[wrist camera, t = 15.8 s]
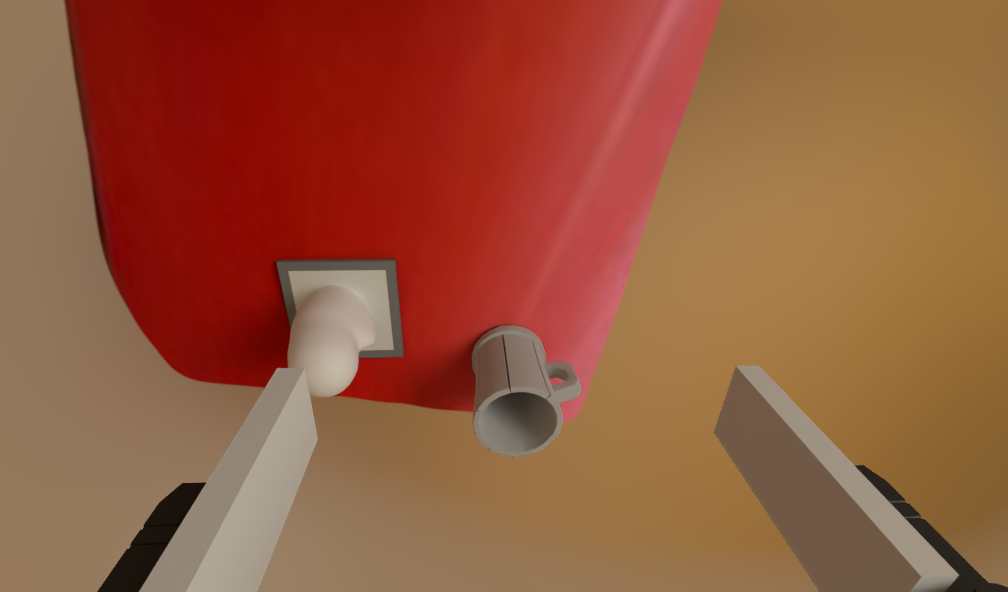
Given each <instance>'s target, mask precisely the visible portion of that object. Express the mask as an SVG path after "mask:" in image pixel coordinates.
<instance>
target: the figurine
mask: <svg viewBox="0 0 1008 592" xmlns="http://www.w3.org/2000/svg"><path fill="white" fill-rule="evenodd" d="M375 340H376V332H375V326H374V323H373V320H372V317H371V315H370V313H369V311H368V310H367V308H366V306H365V304H364V302H363V300H362V299H361V297H360V296H359V295H358V294H357V293H356V292H354V291H353V290H351V289H349V288H347V287H344V286H340V285H329V286H325V287H323V288H321V289H319V290H317V291H316V292H314V293H313V294H312V295H310V296H309V297H308V298H307V299H306V300H305V302H304V303H303V304H302V305H301V307H300V308H299V310H298V311H297V313H296V315H295V318H294V320H293V323H292V327H291V332H290V342H289V347H288V368H305V373H306V378H307V384H308V389H309V394H310V395H311V396H315V397H330V396H334V395H336V394H338V393H340V392H342V391H343V390H344V389H346V388H347V387H348V386H349V384H350V383H351V382H352V380H353V378H354V376H355V374H356V372H357V369H358V359H359V352H360V351H361V350H363V349H365V348H367V347H369V346H371V345H372V344H374V342H375Z"/></svg>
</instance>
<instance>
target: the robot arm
mask: <svg viewBox="0 0 1008 592" xmlns="http://www.w3.org/2000/svg"><path fill="white" fill-rule="evenodd" d="M714 433H715V435H716V436H717V438H718V439H719V441H720V442H721V444H722V445H723V447H724V448H725V450H726V451H727V453H728V454H729V456H730V458H731V459H732V461H733V462H734V464H735V465H736V467H737V468H738V470H739V471H740V472H741V474H742V476H743V477H744V478H745V480H746V482H747V483H748V485H749V486H750V488H751V489H752V491H753V492H754V493H755V495H756V496H757V498H758V500H759V501H760V503H761V504H762V506H763V507H764V509H765V510H766V512H767V513H768V515H769V516H770V518H771V519H772V521H773V522H774V524H775V525H776V527H777V528H778V530H779V531H780V533H781V534H782V536H783V537H784V539H785V540H786V542H787V543H788V545H789V546H790V548H791V549H792V551H793V553H794V554H795V555H796V557H797V558H798V560H799V562H800V563H801V565H802V566H803V567H804V569H805V571H806V572H807V573H808V575H809V577H810V578H811V580H812V581H813V583H814V584H815V586H816V587H817V589H818V590H819V592H1008V587H1005V586H1002V585H999V584H993V583H988V582H987V581H986V580H985V579H984V578H983V577H982V576H981V575H980V574H979V573H978V572H977V571H976V570H975V569H974V568H973V567H972V566H971V565H970V564H969V563H968V562H967V561H966V560H965V559H964V558H963V557H962V556H961V555H960V554H959V553H958V552H957V551H956V550H955V549H954V548H953V547H952V546H951V545H950V544H949V543H948V542H947V541H946V540H945V539H944V538H943V537H942V536H941V535H940V534H939V533H938V532H937V531H936V530H935V529H934V528H933V527H932V526H931V525H930V524H929V523H928V522H926V520H924V519H921V516H920V514H919V513H918V512H917V511H916V510H915V509H914V508H913V507H912V506H911V505H910V504H907V503H906V502H905V499H904V498H903V497H902V496H901V495H900V494H899V493H898V492H897V491H896V490H895V489H894V488H893V487H892V486H891V485H890V484H889V483H888V482H887V481H886V480H884V479H883V478H881V477H880V476H878V475H877V474H875V473H874V472H872V471H871V470H869V469H868V468H866V467H865V466H864V465H859V466H854V465H853V464H852V463H851V462H850V461H849V459H847V457H846V456H845V455H844V454H843V453H842V452H841V451H840V450H839V449H838V448H837V447H836V446H835V445H834V444H833V443H832V442H831V441H830V440H829V439H828V437H827V436H825V434H824V433H823V432H822V431H821V430H820V429H819V428H818V427H817V426H816V425H815V424H814V423H813V422H812V421H811V420H810V419H809V418H808V417H807V415H805V413H804V412H803V411H802V410H801V409H800V408H799V407H798V406H797V405H796V404H795V403H794V402H793V401H792V400H791V399H790V398H789V397H788V396H787V395H786V394H785V392H784V391H783V390H781V388H779V386H778V385H777V384H776V383H775V382H774V381H773V380H772V379H771V378H770V377H769V376H768V375H767V374H766V373H765V372H764V371H763V369H761V367H760V366H736V367H735V370H734V373H733V376H732V380H731V382H730V385H729V388H728V391H727V394H726V397H725V400H724V403H723V406H722V410H721V412H720V415H719V418H718V421H717V424H716V427H715V430H714ZM317 440H318V438H317V432H316V427H315V422H314V416H313V411H312V405H311V400H310V394H309V389H308V384H307V378H306V373H305V368H277V369H276V371H275V373H274V374H273V376H272V377H271V379H270V381H269V382H268V384H267V386H266V387H265V389H264V391H263V392H262V394H261V395H260V397H259V399H258V400H257V402H256V403H255V405H254V407H253V408H252V410H251V412H250V413H249V415H248V416H247V418H246V420H245V421H244V423H243V424H242V426H241V428H240V429H239V431H238V433H237V434H236V436H235V437H234V439H233V441H232V442H231V444H230V445H229V447H228V449H227V450H226V452H225V453H224V455H223V457H222V459H221V460H220V462H219V463H218V465H217V467H216V468H215V470H214V471H213V473H212V475H211V476H210V478H209V479H208V481H207V483H182V484H181V485H180V486H178V487H177V488H176V489H175V490H174V491H172V492H171V493H170V494H169V495H168V496H167V497H165V498H164V499H163V500H162V501H161V502H160V503H159V504H158V505H157V507H156V508H155V510H154V511H153V512H152V514H151V515H150V517H149V518H148V520H147V521H146V523H145V524H144V528H143V529H142V530H140V531H139V533H138V534H137V535H136V537H135V538H134V540H133V541H132V543H131V546H130V548H129V549H127V550H126V551H125V553H124V554H123V556H122V557H121V558H120V560H119V561H118V563H117V564H116V566H115V567H114V568H113V570H112V571H111V573H110V574H109V576H108V577H107V578H106V580H105V581H104V583H103V584H102V586H101V587H100V589H99V590H98V591H97V592H258V589H259V587H260V584H261V581H262V579H263V576H264V574H265V571H266V569H267V566H268V564H269V561H270V559H271V556H272V554H273V551H274V549H275V546H276V544H277V541H278V538H279V536H280V533H281V531H282V528H283V526H284V523H285V521H286V518H287V516H288V513H289V511H290V508H291V506H292V503H293V501H294V498H295V495H296V493H297V490H298V488H299V485H300V482H301V480H302V477H303V475H304V473H305V470H306V468H307V465H308V463H309V460H310V457H311V455H312V452H313V450H314V447H315V445H316V442H317Z"/></svg>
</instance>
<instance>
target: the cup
mask: <svg viewBox="0 0 1008 592" xmlns="http://www.w3.org/2000/svg"><path fill="white" fill-rule="evenodd" d="M472 367H473V371H474V373H475V375H476V389H475V403H474V413H473V430H474V433H475V435H476V437H477V439H478V441H479V442H480V443H481V444H482V445H483V446H484V447H485V448H487V449H489V450H490V451H492V452H495V453H497V454H499V455H505V456H512V457H514V456H525V453H526V454H527V455H529V454H532V453H535V452H538V451H540V450H542V449H543V448H545V447H546V446H548V445H549V444H551V442H552V441H553V440H554V439H555V438H556V437H557V435H558V434H559V432H560V429H561V427H562V424H563V413H562V410H561V408H560V405H559V403H561V402H565V401H568V400H571V399H574V398H577V397H578V395H579V394H580V392H581V384H580V382H579V379H578V377H577V375H576V373H575V371H574V369H573V367H572V365H571V364H568V363H564V362H561V361H558V362H552V363H547V364H546V354H545V350H544V347H543V345H542V342H541V340H540V339H539V338H538V337H537V336H536V335H535V333H533V332H532V331H530V330H528V329H526V328H524V327H520V326H515V325H507V326H500V327H497V328H494V329H491V330H489V331H488V332H486V333H485V334H484V335H482V336H481V337H480V338H479V340H478V341H477V343H476V344H475V346H474V349H473V352H472ZM556 377H558V378H560V379H563V380H565V382H563V383H559V384H556V385H553V386H552V385H551V383H550V380H549V379H550V378H556Z"/></svg>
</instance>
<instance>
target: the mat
mask: <svg viewBox="0 0 1008 592" xmlns="http://www.w3.org/2000/svg"><path fill="white" fill-rule="evenodd" d="M276 263H277V267H278V272H279V277H280V281H281V286H282V291H283V295H284V300H285V305H286V309H287V314H288V319H289V323H290V328H291V327H292V323H293V320H294V318H295V315H296V313H297V311H298V310H299V308H300V307H301V305H302V304H303V303H304V302H305V300H306V299H307V298H308V297H309V296H310V295H312V294H313V293H314V292H316V291H317V290H319V289H321V288H323V287H325V286H329V285H340V286H344V287H347V288H349V289H351V290H353V291H354V292H356V293H357V294H358V295H359V296H360V297H361V299H362V300H363V302H364V304H365V306H366V308H367V310H368V311H369V313H370V315H371V317H372V320H373V323H374V326H375V332H376V340H375V342H374V344H372V345H371V346H369V347H367V348H365V349H363V350H361V351H360V352H359V358H376V357H403V355H404V351H403V340H402V329H401V318H400V307H399V296H398V285H397V274H396V263H395V259H349V260H278V261H277V262H276Z"/></svg>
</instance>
